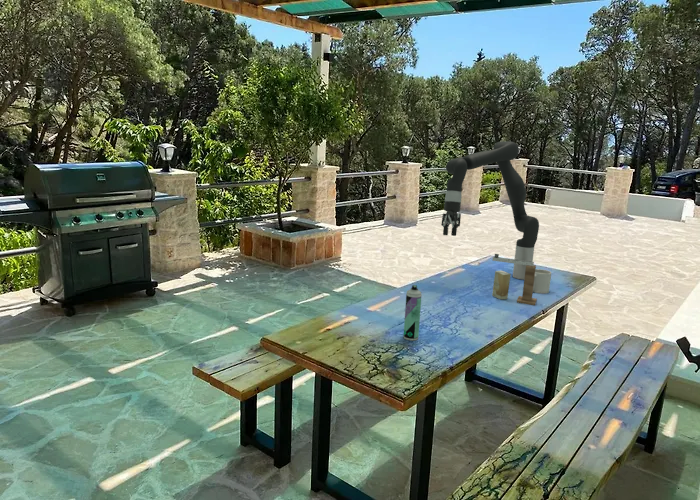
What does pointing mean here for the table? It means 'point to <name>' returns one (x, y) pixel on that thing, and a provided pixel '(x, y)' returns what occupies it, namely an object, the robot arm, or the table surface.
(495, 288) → the skincare box
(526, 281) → the post
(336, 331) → the table surface
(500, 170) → the robot arm
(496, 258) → the latch bar
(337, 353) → the table surface
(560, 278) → the table surface
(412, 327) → the spray can
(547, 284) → the mug
